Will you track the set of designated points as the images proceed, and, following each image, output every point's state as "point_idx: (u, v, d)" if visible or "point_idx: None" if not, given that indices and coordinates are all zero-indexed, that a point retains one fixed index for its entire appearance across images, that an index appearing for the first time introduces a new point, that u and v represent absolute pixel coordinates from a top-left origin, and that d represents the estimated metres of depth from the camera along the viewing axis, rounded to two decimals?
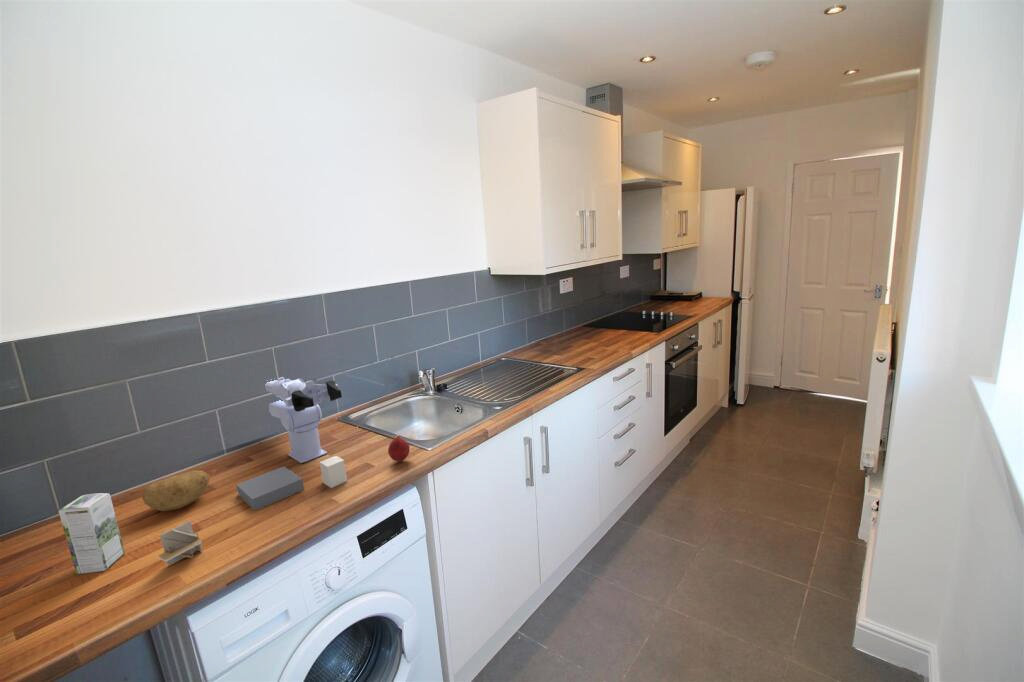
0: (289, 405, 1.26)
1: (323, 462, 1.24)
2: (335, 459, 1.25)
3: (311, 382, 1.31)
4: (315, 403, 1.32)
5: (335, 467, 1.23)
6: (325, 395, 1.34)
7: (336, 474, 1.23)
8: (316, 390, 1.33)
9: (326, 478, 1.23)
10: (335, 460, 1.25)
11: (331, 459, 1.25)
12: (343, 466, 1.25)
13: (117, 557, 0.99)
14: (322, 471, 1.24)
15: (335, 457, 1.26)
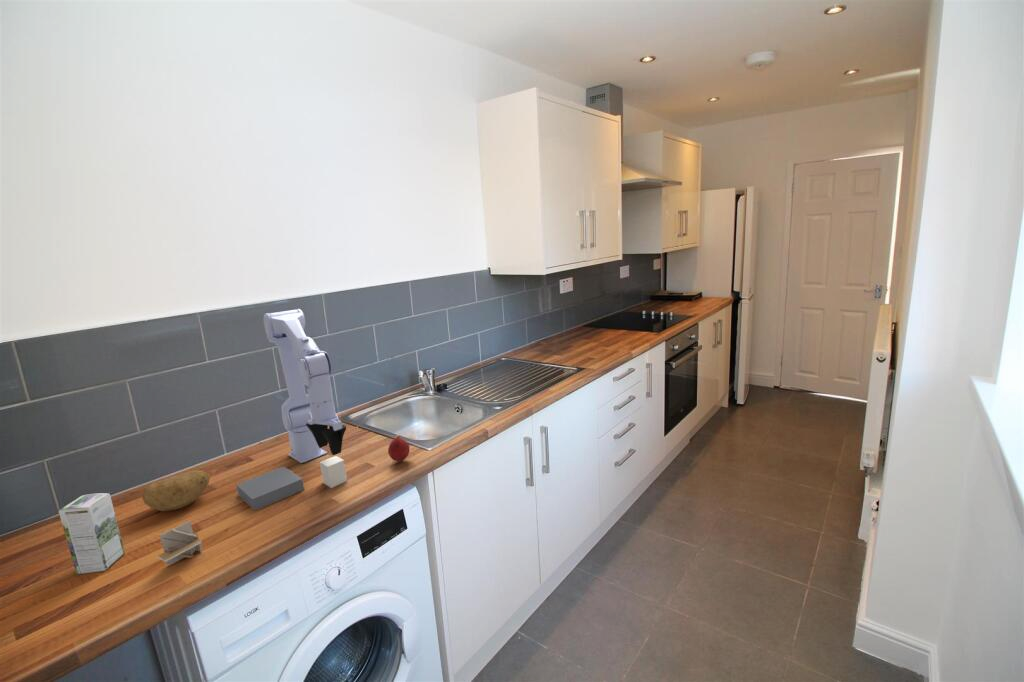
0: None
1: (323, 462, 1.24)
2: (335, 459, 1.25)
3: None
4: None
5: (335, 467, 1.23)
6: None
7: (336, 474, 1.23)
8: None
9: (326, 478, 1.23)
10: (335, 460, 1.25)
11: (331, 459, 1.25)
12: (343, 466, 1.24)
13: (117, 557, 0.99)
14: (322, 471, 1.24)
15: (335, 457, 1.26)
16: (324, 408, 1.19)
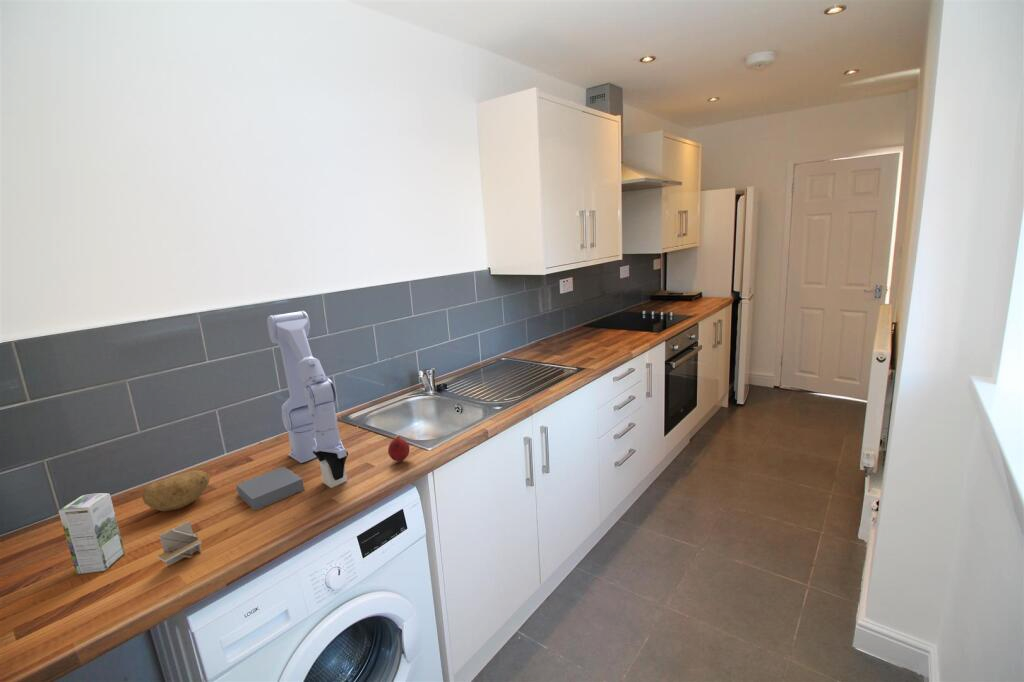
0: None
1: (323, 462, 1.24)
2: None
3: None
4: None
5: None
6: None
7: None
8: None
9: (326, 478, 1.23)
10: None
11: None
12: None
13: (117, 557, 0.99)
14: (322, 471, 1.24)
15: None
16: (329, 436, 1.20)
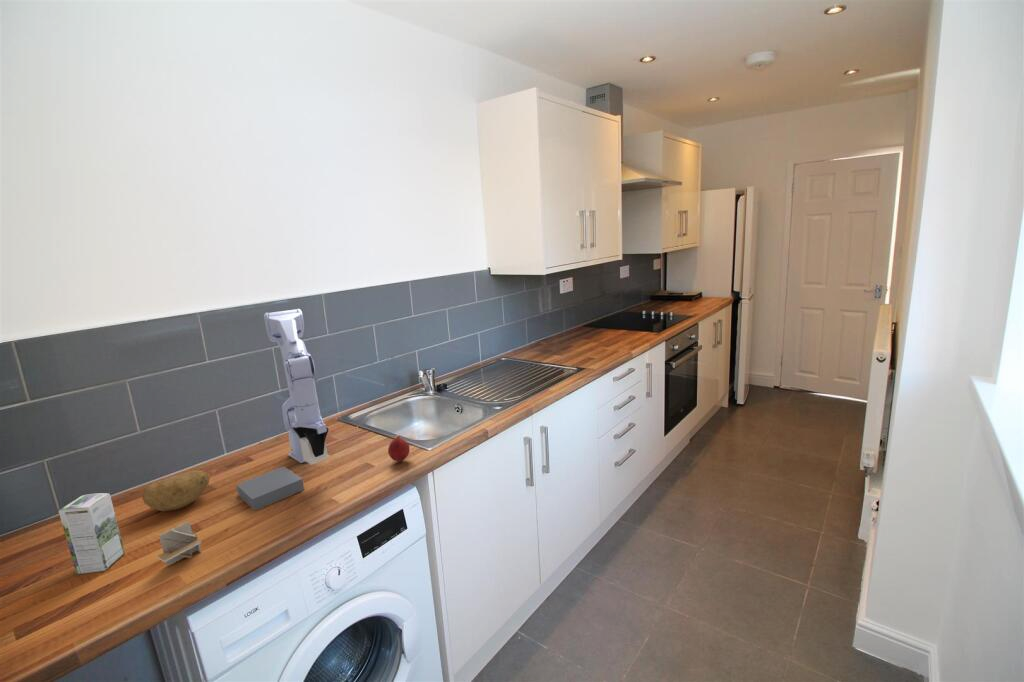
0: None
1: (303, 438, 1.22)
2: None
3: None
4: None
5: None
6: None
7: None
8: None
9: (306, 455, 1.21)
10: None
11: None
12: None
13: (117, 557, 0.99)
14: (302, 448, 1.22)
15: None
16: (308, 411, 1.18)
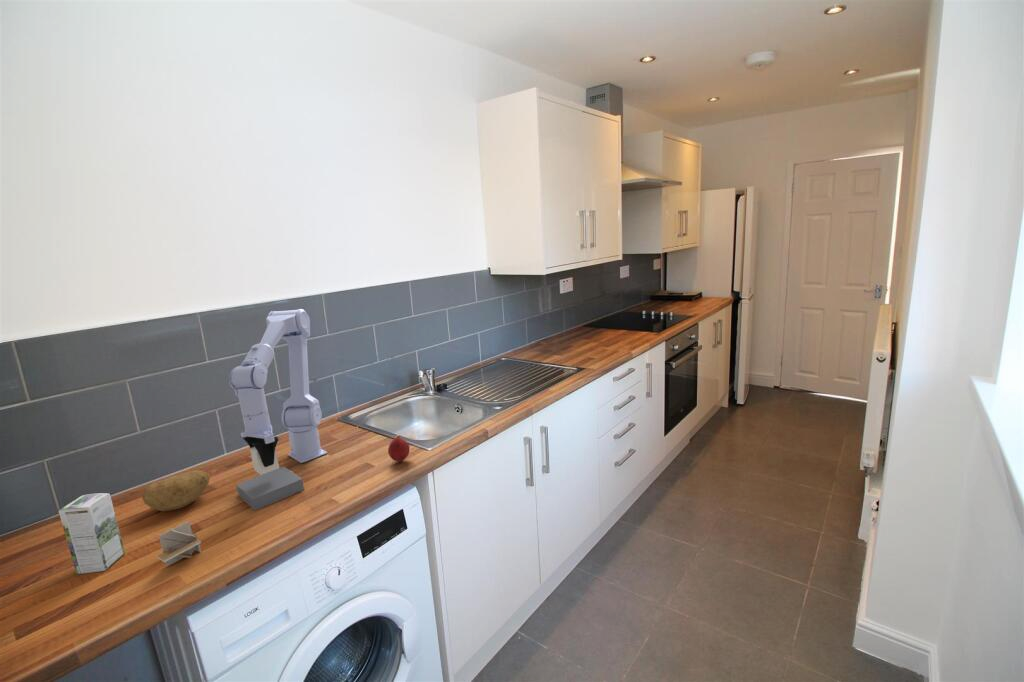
0: None
1: (253, 448, 1.20)
2: None
3: None
4: None
5: None
6: None
7: None
8: None
9: (256, 465, 1.19)
10: None
11: None
12: None
13: (117, 557, 0.99)
14: (252, 458, 1.20)
15: None
16: (256, 421, 1.16)
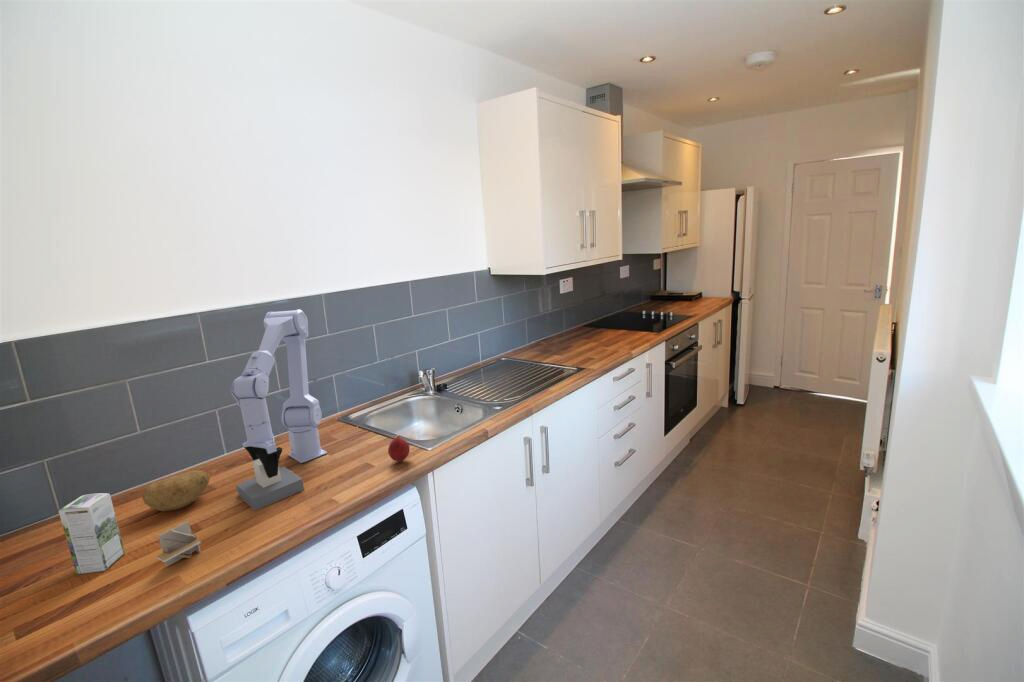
0: None
1: (256, 461, 1.20)
2: None
3: None
4: None
5: None
6: None
7: None
8: None
9: (259, 478, 1.20)
10: None
11: None
12: None
13: (117, 557, 0.99)
14: (255, 470, 1.21)
15: None
16: (258, 430, 1.17)
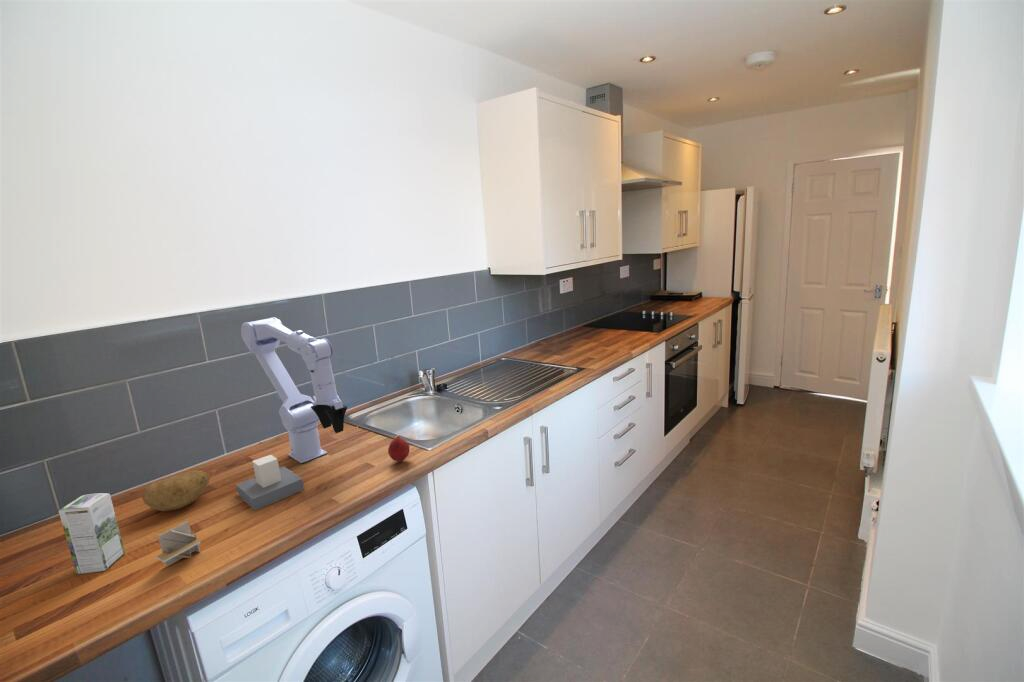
0: None
1: (256, 461, 1.20)
2: (268, 458, 1.22)
3: None
4: None
5: (267, 466, 1.19)
6: None
7: (268, 474, 1.20)
8: None
9: (259, 478, 1.20)
10: (268, 459, 1.21)
11: (265, 458, 1.22)
12: (276, 465, 1.21)
13: (117, 557, 0.99)
14: (255, 470, 1.21)
15: (269, 456, 1.23)
16: (326, 390, 1.29)
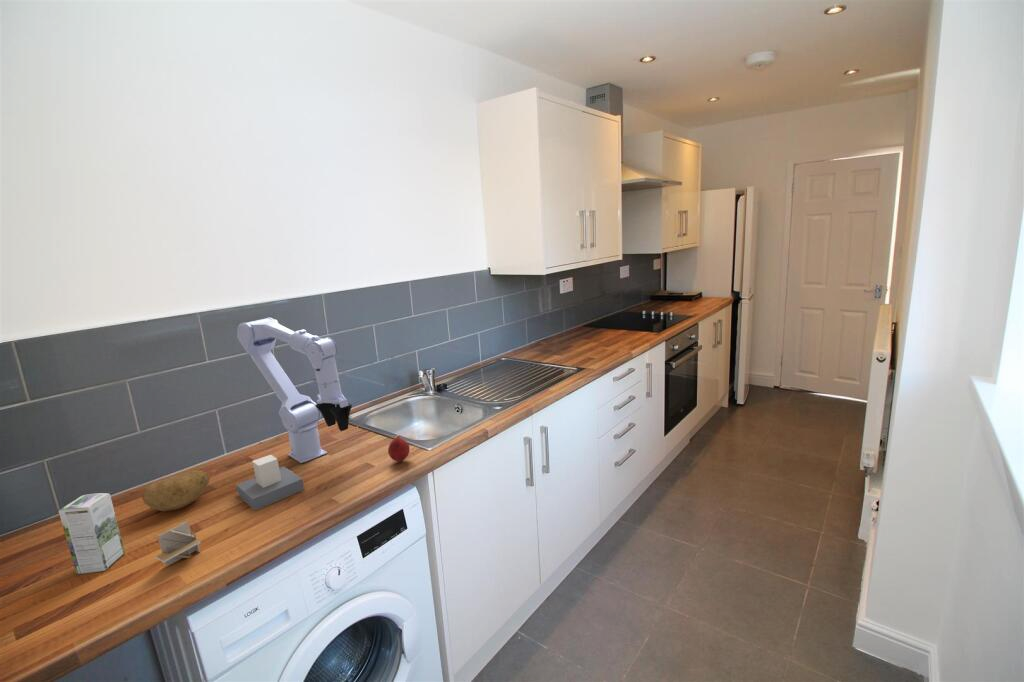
0: None
1: (256, 461, 1.20)
2: (268, 458, 1.22)
3: None
4: None
5: (267, 466, 1.19)
6: None
7: (268, 474, 1.20)
8: None
9: (259, 478, 1.20)
10: (268, 459, 1.21)
11: (265, 458, 1.22)
12: (276, 465, 1.21)
13: (117, 557, 0.99)
14: (255, 470, 1.21)
15: (269, 456, 1.23)
16: (331, 388, 1.31)
